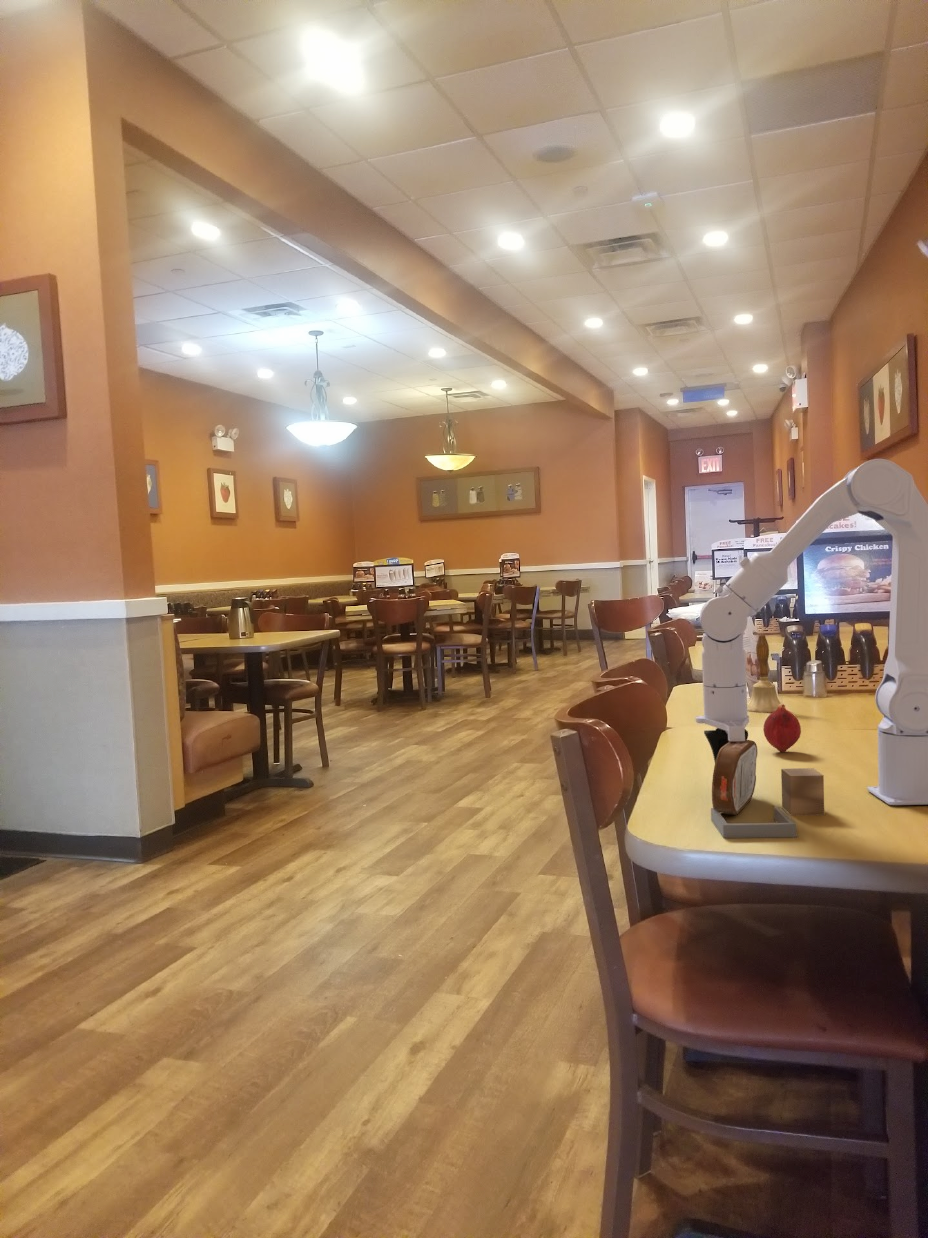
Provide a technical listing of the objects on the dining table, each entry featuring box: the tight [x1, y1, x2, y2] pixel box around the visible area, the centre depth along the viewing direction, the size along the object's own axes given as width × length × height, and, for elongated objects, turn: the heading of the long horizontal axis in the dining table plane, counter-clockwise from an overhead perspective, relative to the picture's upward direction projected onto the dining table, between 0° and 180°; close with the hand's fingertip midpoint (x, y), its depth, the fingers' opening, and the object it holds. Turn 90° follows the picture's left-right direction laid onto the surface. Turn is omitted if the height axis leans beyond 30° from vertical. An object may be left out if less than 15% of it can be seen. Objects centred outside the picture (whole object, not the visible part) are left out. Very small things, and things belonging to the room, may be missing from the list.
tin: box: [711, 739, 758, 816], centre depth 114 cm, size 15×3×8 cm, turn 150°
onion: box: [763, 703, 802, 753], centre depth 146 cm, size 6×6×8 cm
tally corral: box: [710, 806, 797, 839], centre depth 105 cm, size 8×7×2 cm
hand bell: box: [747, 634, 782, 714], centre depth 188 cm, size 8×8×16 cm
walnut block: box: [780, 767, 825, 816], centre depth 112 cm, size 4×4×5 cm
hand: (728, 782), depth 122 cm, fingers closed, pressing on tin
